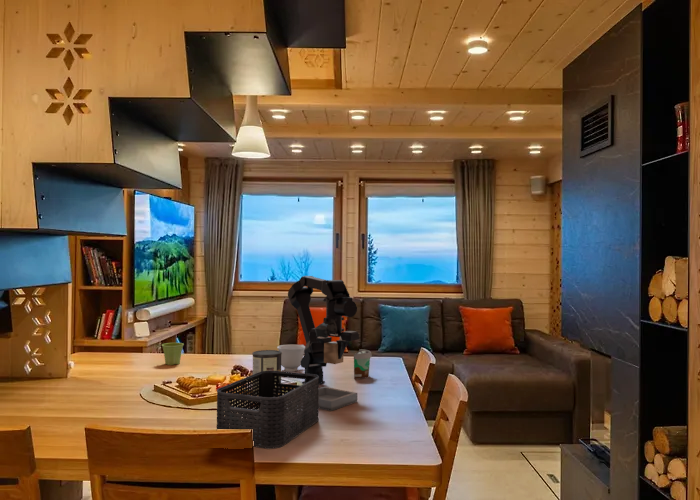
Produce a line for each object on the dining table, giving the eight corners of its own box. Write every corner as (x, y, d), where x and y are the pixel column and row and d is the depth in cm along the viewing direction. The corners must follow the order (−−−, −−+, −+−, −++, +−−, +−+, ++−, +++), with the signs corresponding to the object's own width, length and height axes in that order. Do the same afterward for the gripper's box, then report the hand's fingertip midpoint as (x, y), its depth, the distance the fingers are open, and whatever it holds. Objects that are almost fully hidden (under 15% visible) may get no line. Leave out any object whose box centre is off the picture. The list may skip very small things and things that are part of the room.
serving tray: (297, 403, 182) (297, 394, 182) (324, 395, 193) (324, 386, 193) (331, 410, 173) (331, 401, 173) (357, 401, 185) (357, 392, 185)
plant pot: (179, 366, 242) (180, 346, 242) (158, 365, 242) (158, 345, 242) (186, 362, 251) (186, 342, 251) (165, 361, 251) (165, 342, 252)
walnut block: (323, 362, 200) (324, 343, 200) (332, 360, 204) (332, 341, 204) (334, 364, 197) (335, 344, 197) (343, 362, 201) (343, 342, 201)
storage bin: (277, 451, 138) (277, 397, 138) (210, 441, 144) (211, 389, 144) (322, 420, 164) (322, 374, 165) (264, 413, 171) (264, 369, 171)
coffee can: (268, 387, 204) (269, 348, 204) (287, 392, 197) (287, 352, 197) (245, 392, 197) (246, 352, 197) (264, 397, 190) (264, 355, 190)
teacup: (314, 368, 239) (315, 345, 240) (293, 374, 227) (293, 349, 227) (292, 365, 246) (293, 342, 246) (270, 370, 233) (271, 347, 234)
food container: (368, 380, 218) (369, 354, 218) (353, 379, 219) (353, 353, 219) (373, 373, 230) (374, 349, 230) (359, 373, 231) (359, 348, 231)
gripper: (299, 314, 200) (299, 358, 200) (341, 318, 189) (341, 364, 189) (319, 312, 209) (318, 354, 209) (360, 315, 198) (359, 359, 198)
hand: (333, 358), depth 201 cm, fingers closed on walnut block, 5 cm apart
